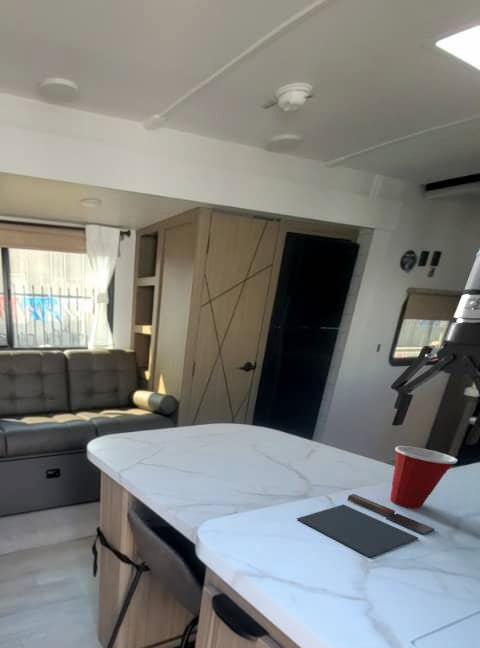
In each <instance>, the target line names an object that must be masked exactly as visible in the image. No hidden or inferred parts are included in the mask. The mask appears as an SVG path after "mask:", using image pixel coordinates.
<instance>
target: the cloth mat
mask: <svg viewBox="0 0 480 648" xmlns="http://www.w3.org/2000/svg"><path fill="white" fill-rule="evenodd" d="M296 519H298V520H299V521H298V520H297V521H298V522H300V521H301V522H300V523H302V522H303V523H302V524H304V523H305V524H304V525H306V524H307V525H306V526H308V527H310V528H312V529H314V530H316V531H317V532H319V533H321V534H323V535H325V536H326V537H329V538H331V539H333V540H334V541H336V542H339V543H340V544H342V545H344V546H347V547H348V548H350V549H352V550H353V551H355V552H357V553H360V554H361V555H363V556H365V557H367V558H369V559H371V558H374V557H377V556H380V555H382V554H385V553H387V552H389V551H391V550H394V549H396V548H399V547H401V546H403V545H404V546H405V545H406V544H409V543H411V542H413V541H414V542H415V541H416V540H419V536H416V535H414V534H411V533H409V532H407V531H405V530H402V529H400V528H398V527H395V526H394V525H391V524H388V523H386V522H384V521H382V520H379V519H377V518H375V517H373V516H371V515H368V514H367V513H364V512H361V511H360V510H357V509H355V508H353V507H350V506H348V505H345V504H344V503H343V504H340V505H336V506H333V507H330V508H327V509H323V510H320V511H317V512H313V513H310V514H307V515H303V516H300V517H297V518H296ZM393 548H394V549H393ZM388 550H389V551H388Z"/></svg>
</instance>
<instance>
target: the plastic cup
mask: <svg viewBox="0 0 480 648" xmlns="http://www.w3.org/2000/svg"><path fill="white" fill-rule="evenodd" d="M394 450H395V464H394V470H393V476H392V481H391V491H390V501H391V502H392V503H394V504H395V505H398V506H401V507H404V508H409V509H420V508H421V507H422V506H423V505H424V504H425V502H426V500H427V499H428V497H429V496H430V495H431V494H432V493H433V491H434V490H435V488H436V487H437V486H438V484H439V482H440V481H441V480H442V478H443V477H444V475H445V474H447V472H448V471H449V469H451V467H452V466H453V465H454V464H456V463H458V461H459V460H458V459H457V458H456V457H455V456H452V455H449V454H446V453H443V452H439V451H437V450H431V449H427V448H421V447H416V446H408V445H407V446H406V445H398V446H395V448H394Z"/></svg>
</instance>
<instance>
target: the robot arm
mask: <svg viewBox="0 0 480 648" xmlns="http://www.w3.org/2000/svg"><path fill="white" fill-rule="evenodd" d="M475 256H476V257H475V260H474V262H473V265H472V268H471V271H470V273H469V276H468V279H467V281H466V284H465V287H464V290H463V292H462V295H461V296H460V300H459V302H458V304H457V307H456V309H455V311H454V314H453V319H456V320H455V321H452V323H450V324H449V327H448V330H447V332H446V335H445V337H444V341H443V344H442V346H441V347H435V346H434V345H424V346H422V348H421V350H420V351H419V354H418V356H417V357H416V358H415V360H414V361H412V362H411V363H410V365H409V366H408V367H407V368H406V369H405V370H404V371H403V372H401V374H400V375H399V376H398V377H397V378H396V379H395V380H394V382H392V384H391V385H390V390H394V391H396V392H397V396H396V400H395V403H394V405H393V407H394V409H395V410H396V412H395V415H394V417H393V420H392V423H391V426H394V427H398V426H402V425H403V424H404V422H405V419H406V416H407V413H408V412H409V408H410V406H411V403H412V400H413V398H414V394H411V393H412V392H413V391H415V390H416V389H417V388H420V387H421V386H422V385H423V384H425V383H427V382H428V381H430V380H431V379H433V378H435V377H436V376H438V375H439V374H441V373H443V372H444V374H455V375H458V376H469V378H470V379H471V380H472V382H473V384H474V386H475V388H476V390H477V392H478V394H479V395H480V249H479V250H478V252H476V255H475ZM435 356H436V358H437V360H438V362H435V364H434V365H432V366H430V367H429V369H427V370H425V371H424V372H423V373H421V374H420V375H418V376H417V377H414V376H415V375H417V373H418V372H419V371H420V370H421V369H422V368H423V367H424V366H425V365H426V364H427V363H428V362H429V361H430V360H431V359H432V358H434V357H435ZM412 378H414V379H412ZM410 380H411V381H410ZM479 439H480V411H479V412H478V414H477V416H476V419H475V421H474V422H473V425H472V427H471V429H470V432H469V434H468V436H467V438H466V441H465V443H464V444H465V445H468V446H471V445H476V444H477V443H478V441H479Z"/></svg>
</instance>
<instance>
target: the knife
mask: <svg viewBox="0 0 480 648" xmlns="http://www.w3.org/2000/svg"><path fill="white" fill-rule="evenodd" d="M349 500H351V501H353V502H352V503H354V502H355V503H354V504H356V503H357V504H356V505H358V504H359V505H358V506H361V507H362V508H365V509H367V510H370V511H373V512H374V513H377V514H379V515H381V516H384V517H385V520H387V521H390V522H392V523H394V524H397V525H399V526H401V527H404V528H406V529H409V530H410V531H413V532H415V533H417V534H419V535H422V536H423V535H426V534H428V533H430V532H433V531H435V528H434V527H433V526H429V525H426V524H424V523H422V522H419V521H417V520H415V519H412V518H409V517H408V516H406V515H403V514H401V513H398V512H397V513H396V510H394V509H393V508H389V507H387V506H384V505H382V504H380V503H377V502H375V501H373V500H370V499H368V498H365V497H363V496H360V495H358V494H355V493H352V494H348V497H347V501H349ZM351 501H350V502H351Z"/></svg>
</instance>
